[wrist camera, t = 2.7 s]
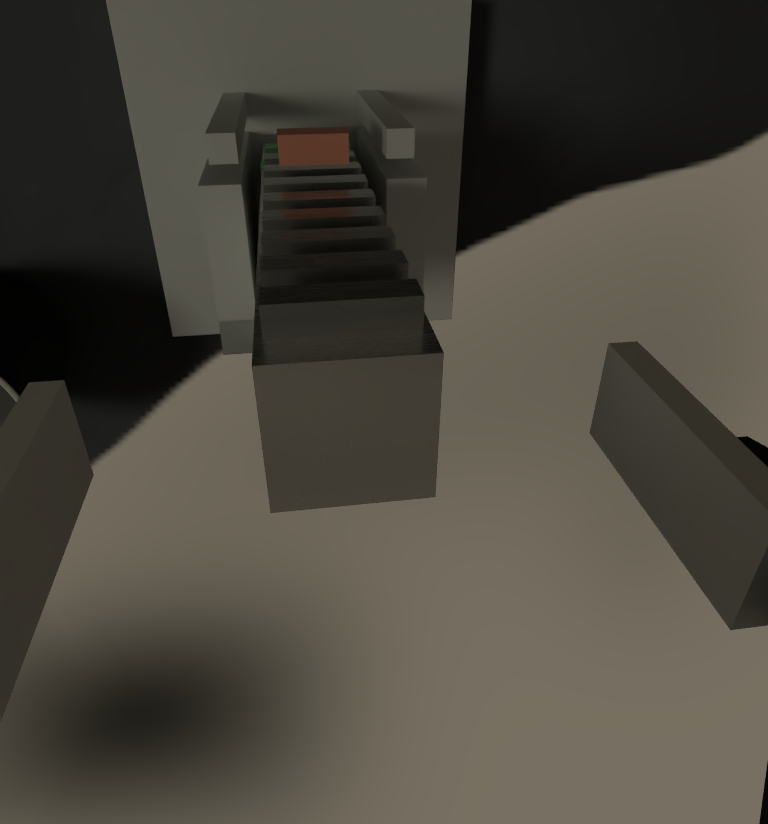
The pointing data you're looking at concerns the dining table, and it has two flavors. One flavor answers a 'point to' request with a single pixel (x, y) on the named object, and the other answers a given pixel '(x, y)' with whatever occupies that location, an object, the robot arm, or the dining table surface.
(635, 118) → the dining table surface
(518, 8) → the dining table surface
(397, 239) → the stand base
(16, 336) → the mug
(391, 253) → the column
